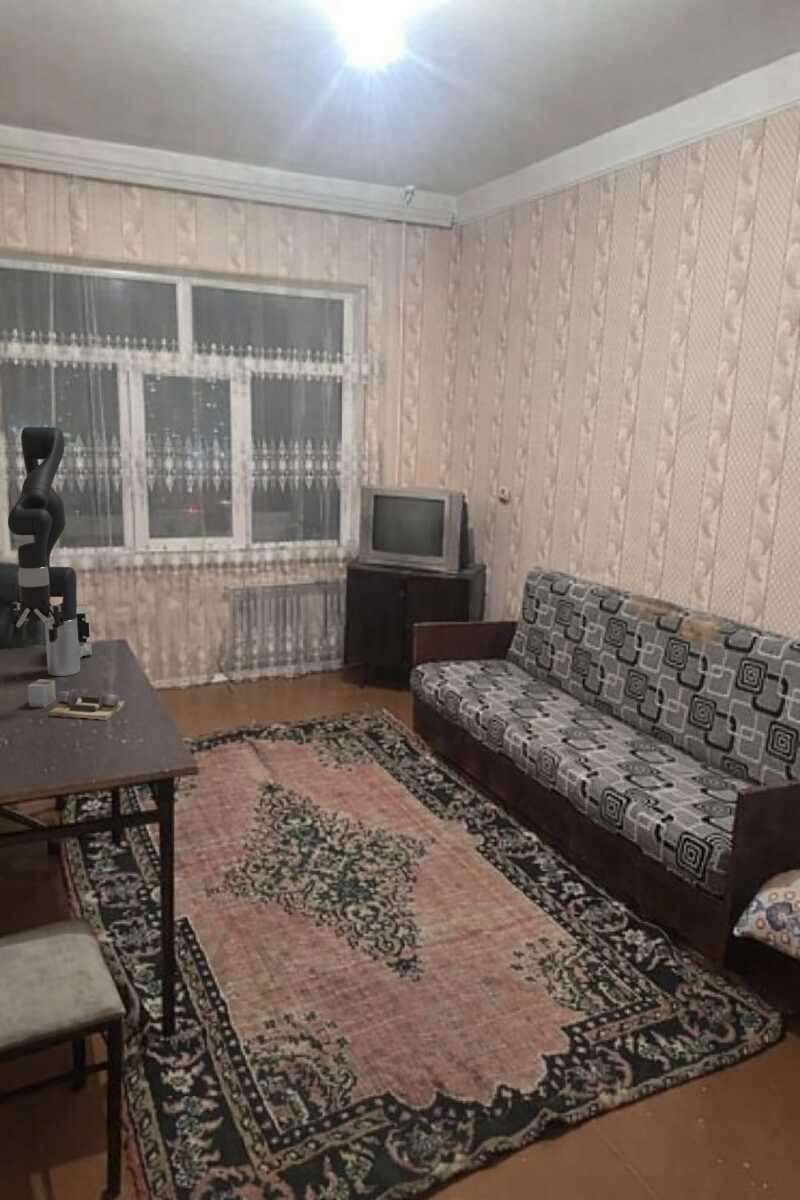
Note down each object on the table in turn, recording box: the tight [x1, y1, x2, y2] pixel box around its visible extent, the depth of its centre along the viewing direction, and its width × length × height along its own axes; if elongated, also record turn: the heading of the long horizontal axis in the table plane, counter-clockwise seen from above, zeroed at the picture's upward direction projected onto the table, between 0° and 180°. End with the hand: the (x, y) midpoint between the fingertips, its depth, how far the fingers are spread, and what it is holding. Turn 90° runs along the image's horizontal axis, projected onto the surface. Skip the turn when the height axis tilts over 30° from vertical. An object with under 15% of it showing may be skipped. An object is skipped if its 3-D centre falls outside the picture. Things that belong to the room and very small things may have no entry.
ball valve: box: [77, 604, 93, 659], centre depth 276 cm, size 18×8×18 cm, turn 18°
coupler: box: [27, 678, 57, 708], centre depth 232 cm, size 6×5×6 cm
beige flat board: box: [48, 688, 127, 721], centre depth 227 cm, size 12×16×6 cm
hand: (38, 640), depth 229 cm, fingers open, 8 cm apart
